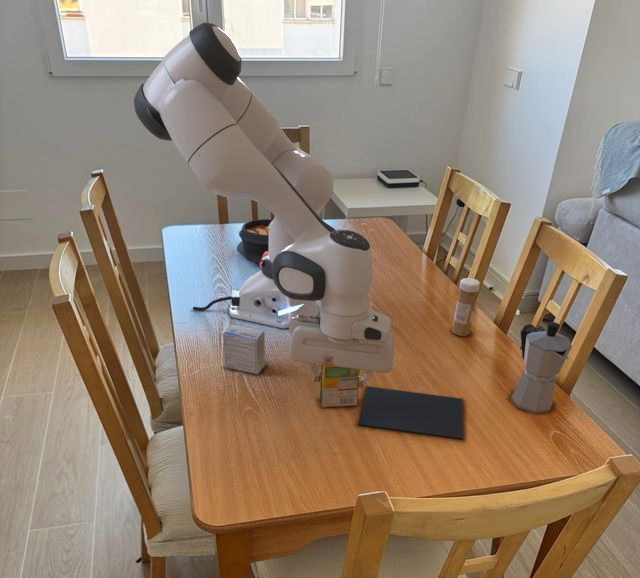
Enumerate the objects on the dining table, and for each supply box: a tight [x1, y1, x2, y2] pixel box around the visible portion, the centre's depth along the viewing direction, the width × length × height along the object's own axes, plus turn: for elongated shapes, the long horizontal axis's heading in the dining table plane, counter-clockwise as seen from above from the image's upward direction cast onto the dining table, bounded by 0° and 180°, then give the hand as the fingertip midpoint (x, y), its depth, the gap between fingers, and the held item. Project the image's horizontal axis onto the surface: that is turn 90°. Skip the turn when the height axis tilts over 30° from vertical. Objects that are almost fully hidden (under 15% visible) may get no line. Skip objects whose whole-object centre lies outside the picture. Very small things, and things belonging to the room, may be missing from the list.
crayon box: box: [319, 357, 361, 409], centre depth 125 cm, size 7×3×12 cm, turn 100°
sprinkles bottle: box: [451, 277, 481, 337], centre depth 152 cm, size 5×5×14 cm
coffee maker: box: [509, 321, 573, 414], centre depth 127 cm, size 15×9×18 cm, turn 17°
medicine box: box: [222, 324, 266, 375], centre depth 135 cm, size 8×4×9 cm, turn 71°
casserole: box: [236, 218, 274, 264], centre depth 190 cm, size 25×19×8 cm
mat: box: [357, 385, 464, 441], centre depth 127 cm, size 20×14×1 cm
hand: (339, 383), depth 126 cm, fingers open, 8 cm apart
